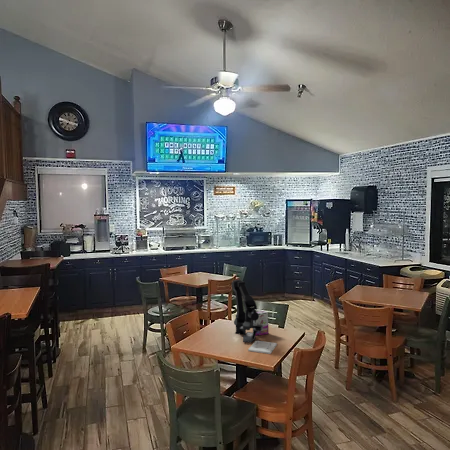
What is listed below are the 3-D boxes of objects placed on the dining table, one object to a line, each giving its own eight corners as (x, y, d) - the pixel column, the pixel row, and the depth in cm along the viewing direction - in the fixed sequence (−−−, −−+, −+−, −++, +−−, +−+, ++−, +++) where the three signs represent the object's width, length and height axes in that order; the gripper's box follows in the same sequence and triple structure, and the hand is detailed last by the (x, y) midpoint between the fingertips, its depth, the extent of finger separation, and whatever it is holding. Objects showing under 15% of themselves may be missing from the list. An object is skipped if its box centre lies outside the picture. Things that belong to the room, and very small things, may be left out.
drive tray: (248, 350, 254) (248, 346, 253) (255, 341, 270) (255, 337, 270) (270, 353, 248) (270, 349, 248) (276, 344, 265) (276, 340, 265)
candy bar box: (265, 332, 291) (265, 310, 290) (268, 334, 287) (268, 312, 286) (252, 334, 287) (252, 312, 286) (255, 336, 282) (255, 314, 282)
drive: (243, 341, 271) (243, 336, 270) (247, 337, 280) (247, 331, 280) (251, 342, 268) (251, 337, 268) (255, 338, 278) (255, 332, 278)
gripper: (233, 318, 269) (233, 340, 270) (258, 321, 263) (258, 343, 263) (238, 314, 280) (238, 335, 280) (263, 316, 273) (263, 338, 274)
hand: (249, 338), depth 274 cm, fingers closed on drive, 6 cm apart
